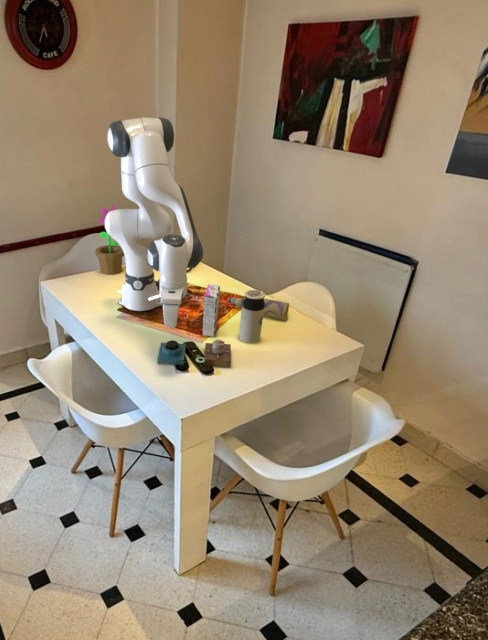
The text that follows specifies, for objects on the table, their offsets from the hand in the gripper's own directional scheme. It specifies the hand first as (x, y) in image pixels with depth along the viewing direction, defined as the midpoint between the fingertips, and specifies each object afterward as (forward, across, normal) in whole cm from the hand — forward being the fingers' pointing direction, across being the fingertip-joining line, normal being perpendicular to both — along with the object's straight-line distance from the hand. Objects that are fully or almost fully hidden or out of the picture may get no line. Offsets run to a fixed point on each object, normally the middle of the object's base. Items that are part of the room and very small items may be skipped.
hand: (172, 326), depth 156 cm
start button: (+8, 0, 0) cm, 8 cm away
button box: (+12, 0, 0) cm, 12 cm away
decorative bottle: (+12, -39, +33) cm, 52 cm away
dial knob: (+9, 0, +16) cm, 18 cm away
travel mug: (+12, -16, +28) cm, 34 cm away
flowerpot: (+11, -78, -37) cm, 87 cm away
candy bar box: (+12, -21, +13) cm, 28 cm away
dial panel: (+12, 0, +16) cm, 20 cm away
